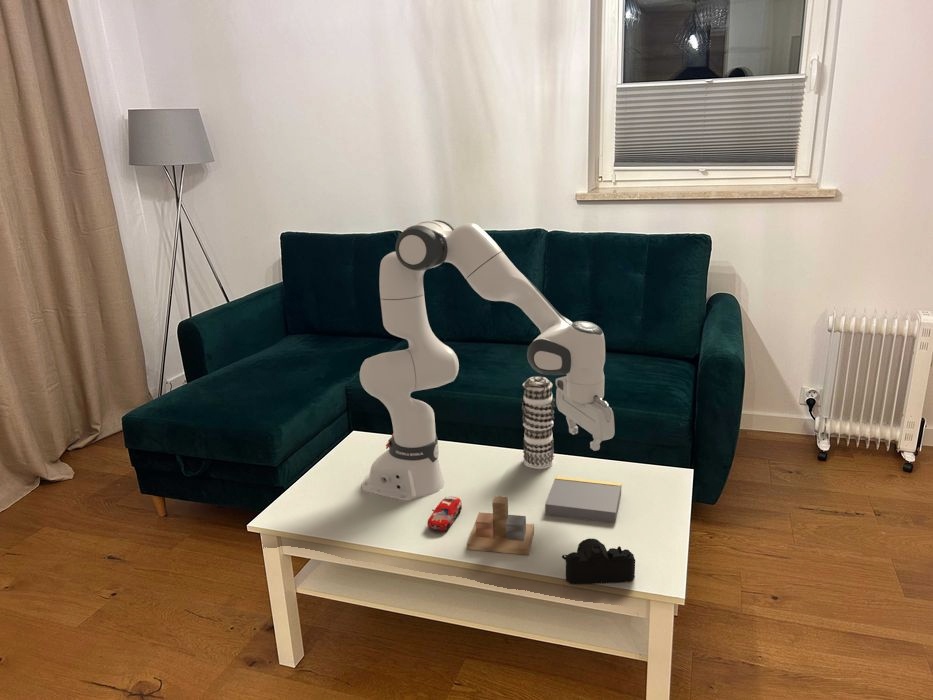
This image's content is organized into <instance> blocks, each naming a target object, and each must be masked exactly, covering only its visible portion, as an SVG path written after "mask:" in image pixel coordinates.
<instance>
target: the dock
mask: <svg viewBox="0 0 933 700" xmlns="http://www.w3.org/2000/svg"><path fill="white" fill-rule="evenodd" d="M621 496H622V483H621V482H619V483H618V482H611V481H603V480H593V479H583V478H576V477H575V478H574V477H566V476H558V475H557V476H554V480H553V483H552V486H551V488H550V490H549V493H548V496H547V499H546V501H545V505H544V507H545V508H544V512H545V513H544V514H545V516H553V517H558V518H559V517H561V518H562V517H563V518H567V519H576V520H585V521H593V522H603V523H609V524H610V523H611V524H616V522H617V517H618V513H619V512H618V511H619V508H620V507H619V506H620V503H621V502H620V501H621Z"/></svg>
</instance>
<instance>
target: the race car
mask: <svg viewBox="0 0 933 700" xmlns="http://www.w3.org/2000/svg"><path fill="white" fill-rule="evenodd" d="M462 504H463V503H462V500H461V499H460V498H459V497H457V496H446V497H444V498H442V499H441V501H439V503H438V505H436V507H435V508H434V509H431V511H432V513H431V515H430V517H428V519H427V523H426V524H427V528H428V529H430V530H433V531H437V532H438V531H439V532H442V531H449V529H450V526H451V525H452V524H453V522H454V521H455V520H456V519H457V517H458V516H459V515H460V514H461V512H462V509H463V507H462Z"/></svg>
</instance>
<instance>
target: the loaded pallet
mask: <svg viewBox="0 0 933 700" xmlns="http://www.w3.org/2000/svg"><path fill="white" fill-rule="evenodd" d="M508 498H509V497H508V496H501V495H500V496H499V495H495V496H494V498H493V500H492V513H493V532H494V537H493V538H486V537H476V520H475V521H474V524H473V527H472V529H471V532H470V535H469V538H468V539H467V544H466V546H467V547H466V550H471V551H482V552H493V553H502V554H503V553H504V554H514V555H522V556H523V555H527V556H529V554H530V552H531V551H530V550H531V546H532V542H533V537H534V534H535V524H534V523H526V533H525V537H524V541H519V540H508V539H506V522H507V518H508V515H509V499H508Z"/></svg>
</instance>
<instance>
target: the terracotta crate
mask: <svg viewBox="0 0 933 700" xmlns="http://www.w3.org/2000/svg"><path fill="white" fill-rule="evenodd" d="M475 521H476V537H486V538H493V537H494V532H493V512H491V513H490V512H480V511H478V513H477V517H476V519H475Z"/></svg>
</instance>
